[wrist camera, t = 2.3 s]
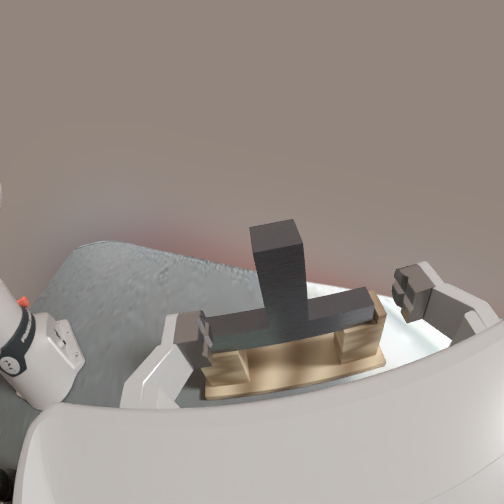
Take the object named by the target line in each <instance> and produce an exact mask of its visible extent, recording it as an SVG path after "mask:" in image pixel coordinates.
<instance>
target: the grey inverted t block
mask: <svg viewBox="0 0 504 504" xmlns="http://www.w3.org/2000/svg"><path fill="white" fill-rule="evenodd" d="M250 236H251V243H252V251H253V256H254V261H255V265H256V270H257V274H258V279H259V283H260V288H261V292H262V297H263V301H264V306H265V308H261V309H256V310H250V311H244V312H238V313H233V314H226V315H220V316H214V317H207V318H205V322H207V323H209V325H210V327H211V330H212V335H213V345H212V347H211V348H210V349H211V351H212V353H213V354H217V353H224V352H231V351H238V350H245V349H251V348H257V347H263V346H269V345H275V344H280V343H285V342H291V341H296V340H301V339H305V338H310V337H315V336H319V335H324V334H328V333H333V332H337V331H341V330H345V329H349V328H353V327H357V326H361V325H364V324H368V323H372V318H373V313H374V308H375V304H374V302H373V300H372V298H371V296H370V294H369V292H368V291H367V289H366V287H362V288H357V289H353V290H349V291H344V292H340V293H336V294H331V295H326V296H322V297H317V298H312V299H307V285H306V272H305V260H304V249H303V242H302V240H301V237H300V235H299V232H298V230H297V227H296V225H295V222H294V220H293V219H291V220H285V221H280V222H275V223H269V224H265V225H259V226H254V227H250Z"/></svg>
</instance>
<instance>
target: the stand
mask: <svg viewBox="0 0 504 504" xmlns="http://www.w3.org/2000/svg"><path fill="white" fill-rule="evenodd" d="M369 294H370V296H371V298H372V300H373V302H374V304H375V308H374V313H373V318H372V323H368V324H364V325H361V326H357V327H353V328H349V329H345V330H341V331H337V332H334V333H330V334H325V335H321V336H316V337H312V338H307V339H302V340H297V341H292V342H287V343H282V344H277V345H271V346H265V347H259V348H253V349H247V350H238V351H231V352H224V353H217V354H213V360H212V367H205V368H201V370H202V372H203V373H204V375H205V376H206V382H205V398H206V399H207V400H217V399H227V398H236V397H245V396H252V395H259V394H266V393H272V392H278V391H284V390H290V389H295V388H300V387H305V386H310V385H315V384H319V383H323V382H328V381H332V380H336V379H340V378H344V377H348V376H351V375H355V374H359V373H362V372H366V371H369V370H372V369H376V368H379V367H382V366H385V364H386V360H385V358H384V355H383V353H382V351H381V348H380V346H379V343H380V339H381V335H382V331H383V327H384V323H385V319H386V315H387V313H386V311H385V310H384V308H383V306H382V304H381V302H380V300H379V298H378V297H377V295H376V293H375V291H374V290H373V291H369Z"/></svg>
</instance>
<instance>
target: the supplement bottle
mask: <svg viewBox="0 0 504 504" xmlns="http://www.w3.org/2000/svg"><path fill="white" fill-rule="evenodd" d="M16 472H17V471H16V470H13V469H7V470H2V469H0V501H1V502H3V504H13V493H14V485H15V478H16Z"/></svg>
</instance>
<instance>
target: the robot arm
mask: <svg viewBox="0 0 504 504" xmlns="http://www.w3.org/2000/svg"><path fill="white" fill-rule="evenodd" d="M1 205H2V188H1V184H0V210H1ZM394 277H395V279H396V281H395V282H394V283H393V286H392V295H393V299H394V301H395V303H396V305H397V306H399V307H401V308H402V309H401V314H402V316H403V317H404V319H405V321H406V323H410V322H413V321H416V320H420V319H423V320H425V321H426V322H428V323H429V324H430V325H432V326H433V327H435V328H436V329H437V330H439V331H440V332H442V333H443V334H444V335H446V336H447V337H449V338H450V339H451V340H452V342H451V344H450V345H449V347H448V348H446V349H443V350H441V351H439V352H436V353H434V354H431V355H429V356H427V357H424V358H421V359H419V360H416V361H414V362H411V363H408V364H406V365H403V366H400V367H397V368H394V369H391V370H388V371H385V372H382V373H379V374H376V375H373V376H370V377H366V378H363V379H359V380H356V381H352V382H349V383H345V384H341V385H337V386H333V387H329V388H325V389H321V390H316V391H312V392H307V393H303V394H298V395H292V396H287V397H282V398H276V399H270V400H263V401H256V402H249V403H241V404H232V405H222V406H211V407H197V408H180V407H179V406H178V405H177V404H176V403H175V402H174V400H175V399H176V397H177V395H178V394H179V392H180V391H181V389H182V387H183V386H184V384H185V383H186V381H187V379H188V378H189V376H190V375H191V373H192V371H193V369H197V368H205V367H212V360H213V353H212V351H211V349H210V348H211V347H212V345H213V335H212V330H211V327H210V325H209V323H207V322H205V317H206V316H205V314H204V312H203V311H201V310H200V311H193V312H185V313H179V314H171V315H167V317H166V319H165V324H164V329H163V335H162V340H161V345H160V346H157V347H156V348H155V349H154V350H153V351H152V352H151V354H150V355H149V356H148V357H147V358H146V359H145V360H144V362H143V363H142V364H141V365H140V366H139V367H138V368H137V369H136V371H135V372H134V373H133V374H132V375H131V376H130V377H129V379H128V380H127V381H126V382H125V384H124V388H123V393H122V398H121V403H120V408H111V407H98V406H87V405H78V404H70V403H63V402H61V401H62V400H63V399H64V398H65V397H66V395H67V394H68V392H69V391H70V389H71V387H72V385H73V382H74V379H75V377H76V375H77V373H78V372H79V370H80V369H81V368H82V366H83V365H84V363H85V359H84V356H83V354H82V352H81V350H80V347H79V345H78V343H77V340H76V338H75V335H74V333H73V330H72V328H71V325H70V323H69V322H68V321H67V320H59V321H55V320H54V319H53V317H52V316H51V315H50V314H48V313H38V314H31V313H30V312H29V311H28V310H26V309H25V307H28V306H29V302H28V300H27V298H26V297H24V296H23V297H22V298H21V299H19V300H17V301H16V300H15V299H14V297H13V296H12V294H11V293H10V291H9V290H8V289H7V287H6V286H5V284H4V283H3V281H2V279H1V278H0V373H1V374H2V376H3V377H4V378H5V379H6V380H7V381H8V382H9V383H10V384H11V385H12V387H13V388H14V389H15V390H16V393H17V395H18V396H19V397H20V398H22V399H25V400H26V401H27V402H28V403H29V404H30V405H31V406H32V407H33V408H35V409H37V410H43V411H42V412H41V413H40V414H39V415H38V416H37V417H36V418H35V419H34V420H33V421H32V423H31V424H30V426H29V428H28V431H27V434H26V436H25V439H24V443H23V446H22V450H21V454H20V458H19V462H18V467H17V472H16V478H15V485H14V493H13V504H504V319H503V320H502V321H500V319H499V318H498V317H497V315H496V314H495V312H494V311H493V310H492V308H491V307H490V306H489V304H488V303H487V302H485V301H483V300H481V299H479V298H477V297H475V296H473V295H471V294H469V293H467V292H465V291H462V290H460V289H458V288H456V287H454V286H452V285H450V284H448V283H446V284H444V282H443V281H442V280H441V279H440V277H439V276H438V275H437V273H436V272H435V271H434V270H433V268H432V267H431V266H430V265H429V264H428V263H427V262H426V261H423V262H420V263H417V264H413V265H410V266H406V267H403V268H399V269H396V271H395V274H394Z"/></svg>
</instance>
